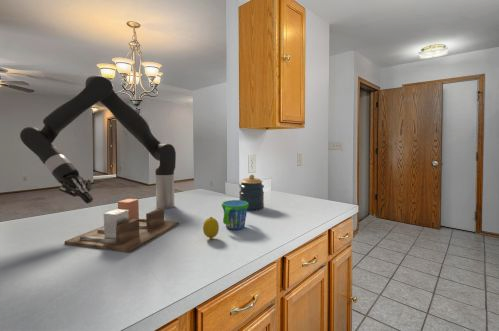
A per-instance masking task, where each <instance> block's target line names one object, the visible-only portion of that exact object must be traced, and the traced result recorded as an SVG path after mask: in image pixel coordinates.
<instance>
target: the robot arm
mask: <svg viewBox="0 0 499 331" xmlns="http://www.w3.org/2000/svg"><path fill="white" fill-rule="evenodd" d="M99 102H100V103H101V104H102V105H103V106H104V107H105V108H106V109H108V110H109V112H110V113H111V114H112V116H114V117H115V119H116V120H117V121H118V123H120V124H121V125H122V126H123V128H125V130H126V131H127V132H128V133H130V134H131V135H132V136H133V137H134V138H135V139H136V140H137V141H138V142H139V143H141V144H142V145H143V146H144V148H145V149H146V150H147V151H148V153H149V154H150V155H151V156H152V157H153V158H154V159H155V160H156V161H159V166H158V167H156V169H155V203H156V204H155V206H156V209H159V208H164V209H170V208H174V207H175V170H176V161H177V160H176V157H177V154H176V153H177V152H176V149H175V147H174V145H172V144H171V143H162V142H161V141H160V140H158V139H157V138H156V137H155V135H154V134H153V133H152V131H151V129H150V126H149V124H148V123H147V120H146V119H145V118H144V117H143V116H142V115H141V114H140V113H139V111H137V110H136V109H135V108H133V106H131V105H130V104H128V103H127V102H125V101H124V100H123V99H122V98H121V96H119V95H118V94H117V93H116V92H115V91H114V85H113V83H112V82H111V80H110V79H109V78H107V77H106V76H103V75H99V74H98V75H97V74H95V75H90V76H88V77H87V79H86V80H85V87H84V88H83V89H82V91H80V92H79V93H78V94H77V95H75V96H74V97H73V98H72V99H71V98H70V100H68V101H66V102H64V103H63V104H61V105H60V106H58V107H57V108H55V109H54V110H53V111H51V112H50V113H49V114H48V115H47V116H46V117H44V118H43V119H42V123H43V124H44V126H43V127H42V129H39V128H38V127H35V126H26V127H24V128H22V130H21V131H20V133H19V138H20V140H21V142H22V143H23V144H24V146H26V147H27V148H28V149H29V150H30V151H31V152H33V154H35V155H36V156H37V157H38V158H39V160H40V162H41V163H42V164H43V165H44V166H45V168H46V169H47V170H48V172H49V173H50V174H51V176H53V177H54V179H55V181H57V182H58V183H59V184H60V185H61V186H60V187H59V188H58V191H60V192H63V193H65V194H66V195H67V194H68V195H70V196H72V197H79V198H80V199H81V200H82V201H83V202H84V203H85V204H91V203H92V202H93V200H94V198H93V197H92V195H91V194H90V191H91V189H92V180H91V179H87V180H86V179H84V177H82V176H80V172H79V170H78V169H77V168H76V166H74V164H73V163H72V162H71V161H70V159H68V158H67V157H66V156H65V155H64V154H63V152H61V150H59V148H58V147H56V146H55V145H54V144H52V143H54V141H55V140H56V138H57V137H58V135H59V134H60V132H61V131H63V130H64V129H65V128H66V127H68V126H69V125H70V124H72V122H73V121H75V120H76V119H77V118H78V117H80V116H81V115H82V114H83V113H84V112H86V111H87V110H89V109H90V108H91V107H93V106H94V105H95V104H98V103H99Z"/></svg>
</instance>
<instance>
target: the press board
mask: <svg viewBox="0 0 499 331" xmlns="http://www.w3.org/2000/svg"><path fill="white" fill-rule="evenodd" d="M145 214H146V216H145V218H141V217H139V219H132V220H129V221H127V222H125V223H122V224H120V225H117V226H116V239H108V238H105V235H104V225H102V226H100V227H98V228H95V229H92V230H90V231H87V232H84V233H82V234H80V235H77V236H74V237H72V238H69V239H65V241H64V245H71V246H78V247H85V248H92V249H101V250H110V251H117V252H123V253H124V252H126V253H133V252H134V251H136V250H138V249H140V248H142V247H143V246H145V245H147V244H148V243H150V242H151V241H153V240H155V239H157V238H159V237H160V236H162V235H164V234H165V233H167V232H168V231H171V230H172V229H173V228H175V227H178V226H179V225H180V221H173V220H165V208H156V209H153V210H151V211H149V212H147V213H145Z"/></svg>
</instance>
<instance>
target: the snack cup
mask: <svg viewBox="0 0 499 331" xmlns="http://www.w3.org/2000/svg"><path fill="white" fill-rule="evenodd" d="M248 206H249V203H248V202H246V201H241V200H239V199H238V200H237V199H235V200H234V199H231V200H225V201H223V202H222V203H221V207H222V210H223V219H222V221H223V224H224V225H225V227H226V228H227V229H228V230H233V231H235V230H236V231H237V230H242V229H243V228H245V226H246V218H247V213H248V211H247V208H248Z"/></svg>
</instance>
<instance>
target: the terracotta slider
mask: <svg viewBox="0 0 499 331" xmlns="http://www.w3.org/2000/svg"><path fill="white" fill-rule="evenodd" d="M139 207H140V206H139V198H138V199H137V198H126V199H123V200H119V201H117V209H121V210H129V220H132V219H139V218H140V213H139V210H140V209H139Z"/></svg>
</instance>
